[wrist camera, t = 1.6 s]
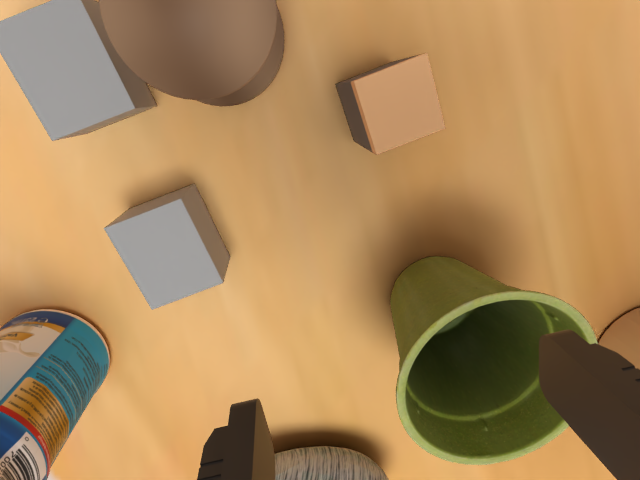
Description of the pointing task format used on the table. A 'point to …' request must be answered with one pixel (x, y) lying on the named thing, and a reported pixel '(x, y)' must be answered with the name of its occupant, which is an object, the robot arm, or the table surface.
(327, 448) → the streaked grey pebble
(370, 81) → the tan rectangular block
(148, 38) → the bobbin
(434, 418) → the plant pot
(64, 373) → the beverage bottle
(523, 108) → the table surface
